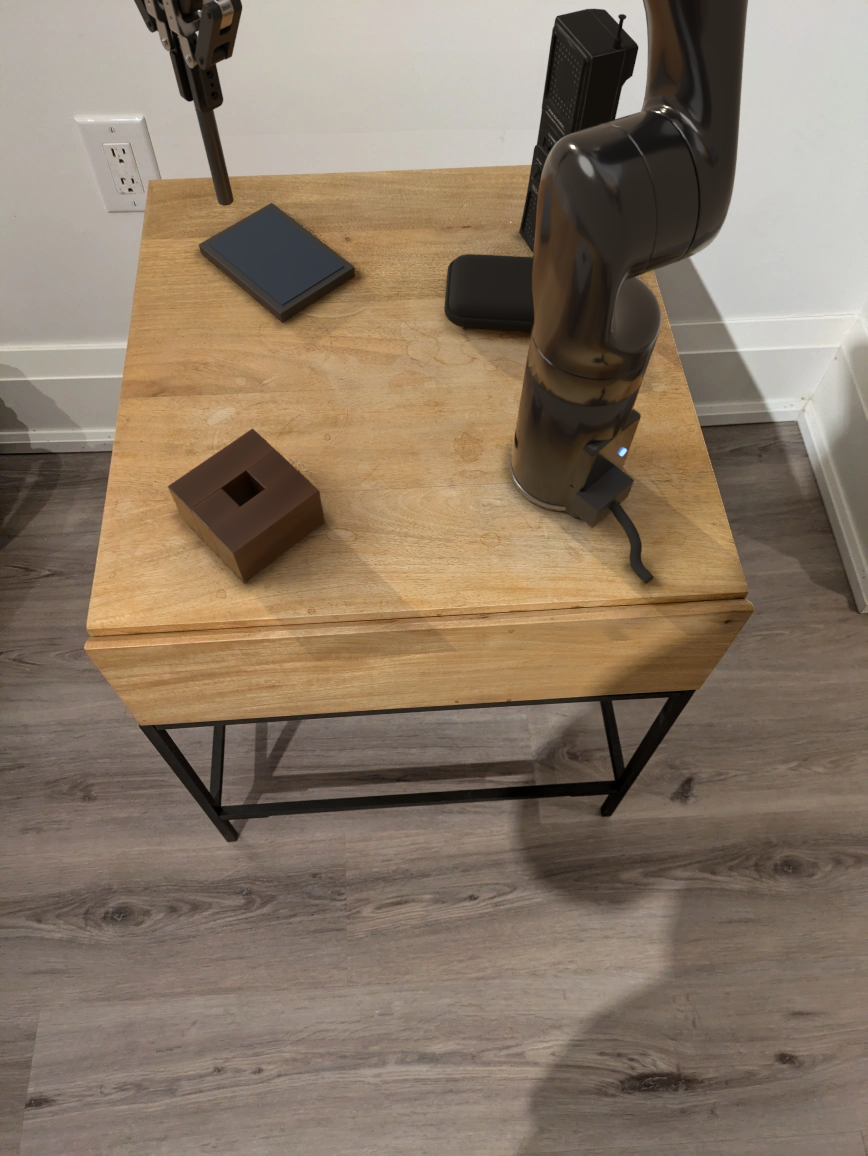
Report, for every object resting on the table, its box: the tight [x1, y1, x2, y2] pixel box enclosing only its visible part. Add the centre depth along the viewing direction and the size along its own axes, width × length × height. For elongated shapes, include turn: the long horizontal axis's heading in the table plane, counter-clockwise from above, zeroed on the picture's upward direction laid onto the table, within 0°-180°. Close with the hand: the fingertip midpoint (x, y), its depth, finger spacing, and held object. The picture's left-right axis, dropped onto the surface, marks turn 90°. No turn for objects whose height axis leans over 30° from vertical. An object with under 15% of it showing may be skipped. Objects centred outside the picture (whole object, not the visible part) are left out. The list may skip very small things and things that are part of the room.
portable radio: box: [518, 8, 639, 254], centre depth 82 cm, size 8×6×25 cm
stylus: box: [177, 32, 235, 207], centre depth 69 cm, size 2×2×14 cm
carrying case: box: [443, 253, 534, 334], centre depth 87 cm, size 11×3×15 cm
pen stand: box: [167, 428, 326, 584], centre depth 73 cm, size 9×9×5 cm
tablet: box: [198, 202, 356, 323], centre depth 90 cm, size 14×10×1 cm
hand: (202, 101), depth 67 cm, fingers closed on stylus, 1 cm apart
